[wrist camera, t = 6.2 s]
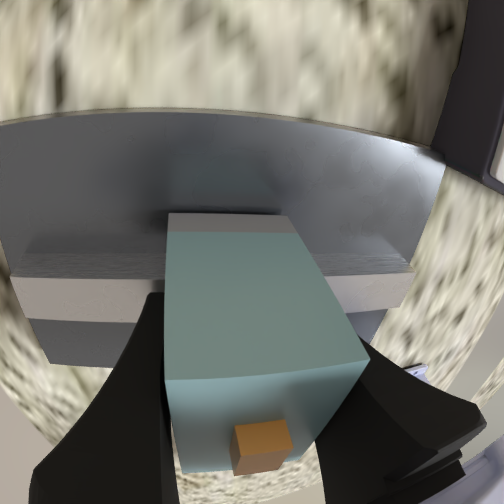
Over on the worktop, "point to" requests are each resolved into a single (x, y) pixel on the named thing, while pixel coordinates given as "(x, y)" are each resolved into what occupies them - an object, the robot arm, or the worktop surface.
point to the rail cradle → (196, 210)
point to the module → (250, 343)
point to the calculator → (477, 100)
